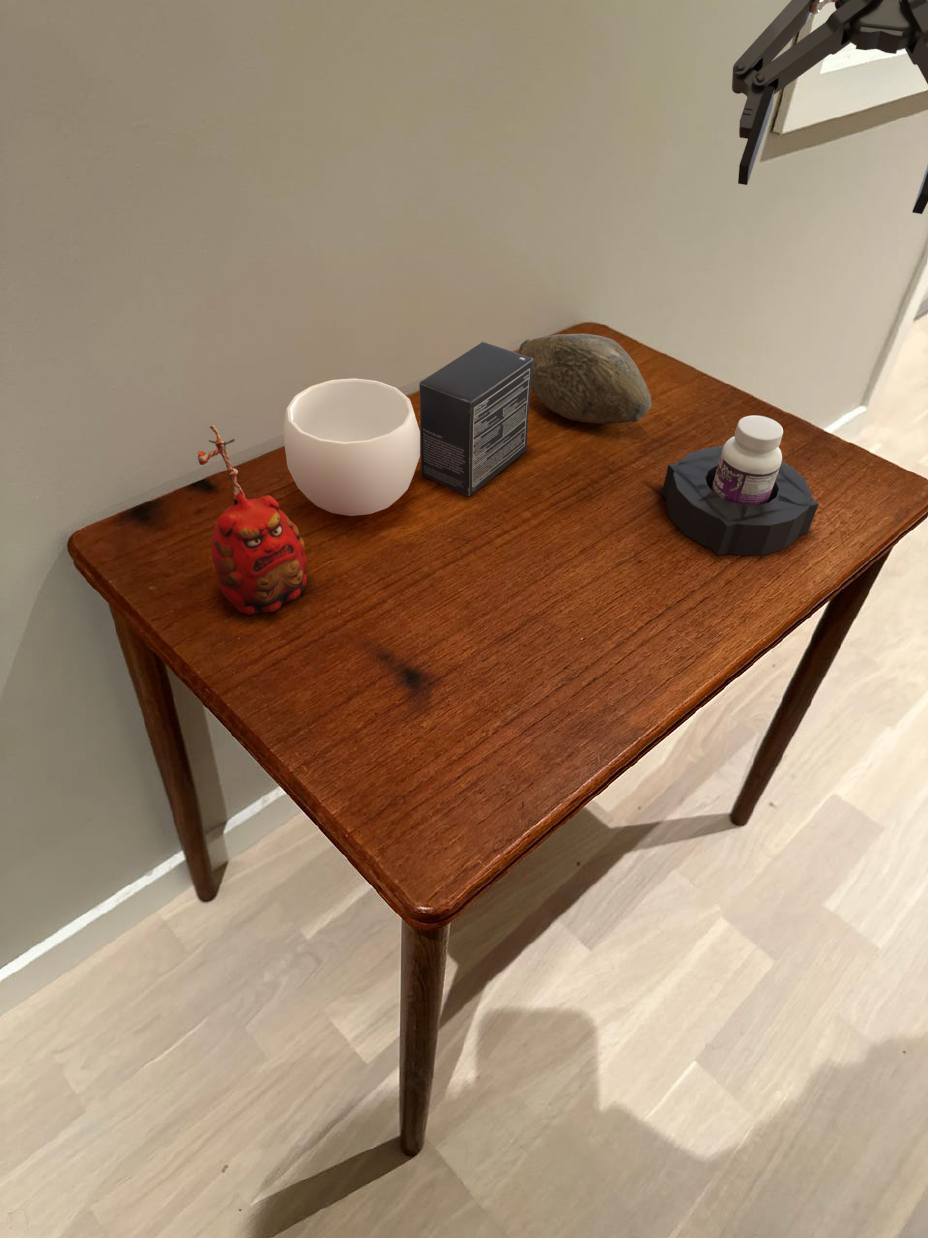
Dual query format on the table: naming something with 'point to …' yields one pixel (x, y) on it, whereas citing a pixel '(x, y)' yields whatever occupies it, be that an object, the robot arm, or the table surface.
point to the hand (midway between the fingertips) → (829, 189)
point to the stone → (587, 378)
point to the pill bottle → (749, 462)
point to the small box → (474, 417)
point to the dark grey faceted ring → (736, 508)
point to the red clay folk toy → (255, 548)
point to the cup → (351, 445)
